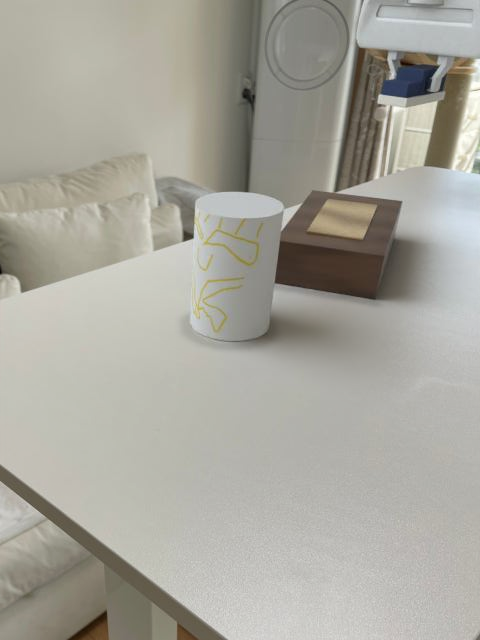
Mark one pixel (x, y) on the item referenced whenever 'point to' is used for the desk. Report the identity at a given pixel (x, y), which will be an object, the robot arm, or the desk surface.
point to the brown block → (338, 243)
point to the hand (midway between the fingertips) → (413, 88)
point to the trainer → (411, 87)
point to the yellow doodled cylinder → (234, 264)
